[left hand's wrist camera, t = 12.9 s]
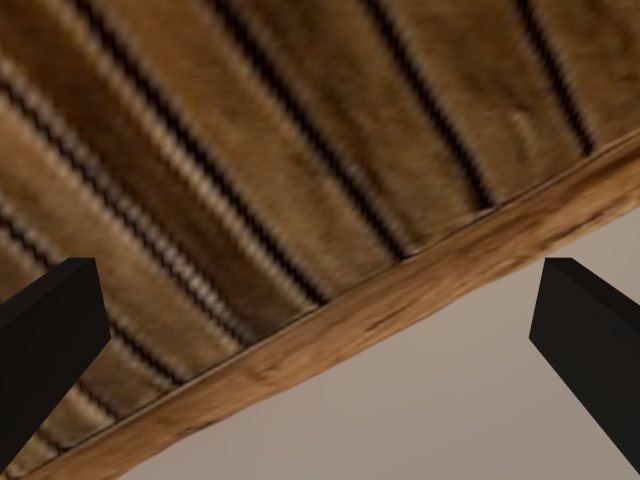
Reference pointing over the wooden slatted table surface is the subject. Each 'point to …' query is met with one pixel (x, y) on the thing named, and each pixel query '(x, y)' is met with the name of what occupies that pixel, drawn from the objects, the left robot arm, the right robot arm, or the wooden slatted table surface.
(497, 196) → the wooden slatted table surface
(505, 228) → the wooden slatted table surface
